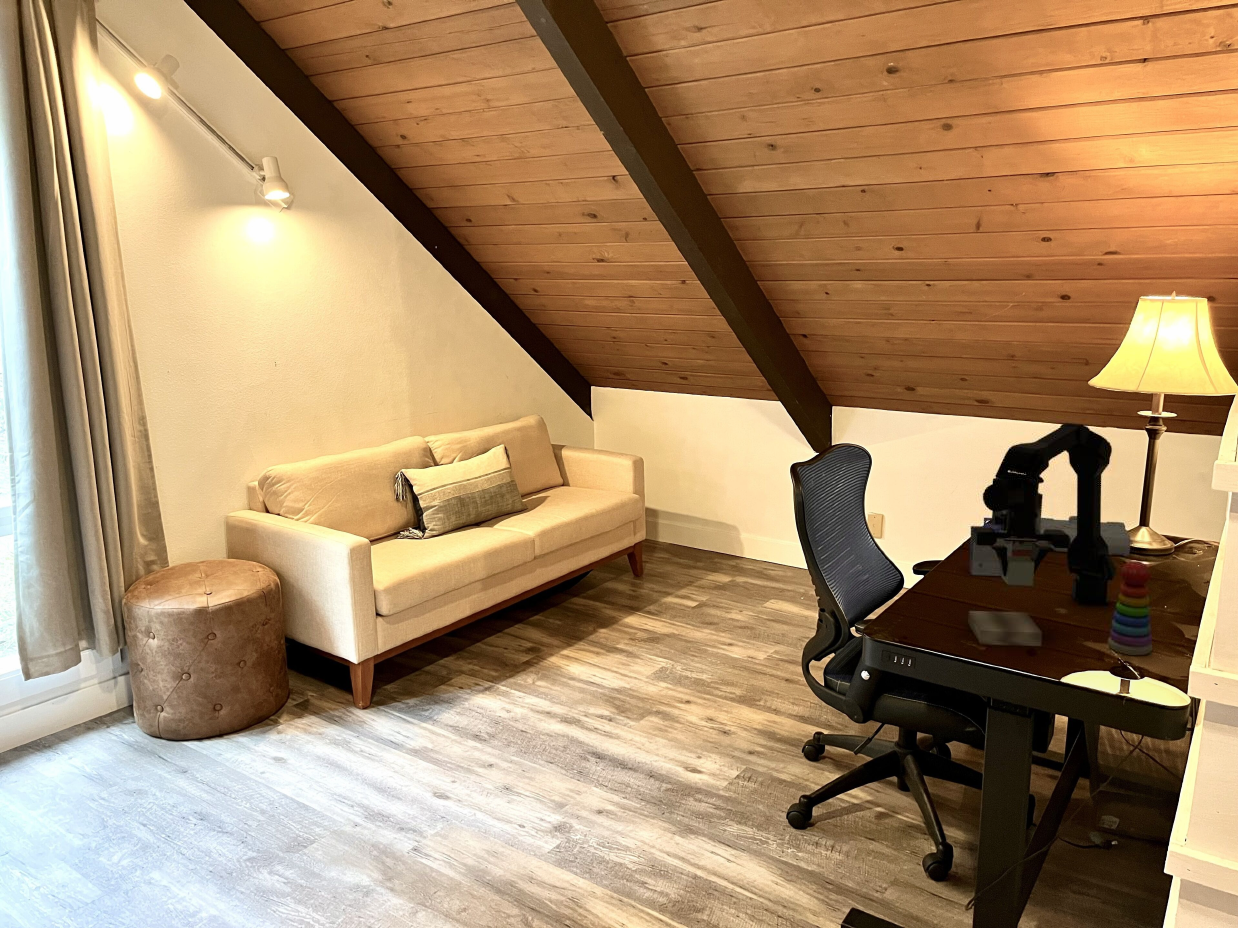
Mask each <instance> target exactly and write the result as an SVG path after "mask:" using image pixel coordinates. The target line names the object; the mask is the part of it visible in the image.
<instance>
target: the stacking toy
mask: <svg viewBox="0 0 1238 928" xmlns="http://www.w3.org/2000/svg"><path fill="white" fill-rule="evenodd" d="M1120 573H1121V574H1120V575H1121V578H1122V580H1123V581H1124V582H1123V583H1122V584H1121V585H1120V586H1119V589H1120V593H1119V594H1118V597H1117V598H1118V601H1117V602H1116V604H1115V609H1116V610H1115V611H1114V612H1113V619H1112V620H1111V627H1112V628H1111V629H1110V633H1109V634H1110V635H1109V637H1108V640H1107V645H1108V646H1109V648H1110V649H1112V650H1113V651H1115V652H1117V653H1119V654H1123V655H1129V656H1142V655H1143V656H1144V655H1148V654H1150V653H1151V652H1152V651H1153V645H1152V641H1153V636H1152V634H1151V633H1150V632H1151V630H1152V627H1151V625H1150V623H1151V617H1150V612H1151V608H1150V606H1149V604H1150V602H1151V601H1150V600H1151V599H1150V597H1149V596H1148V594H1149V588H1148V586H1147V585H1145V584H1146V583H1148V581H1149V580H1150V577H1151V572H1150V569H1149V567H1148V566H1147V564H1145V563H1144V562H1142V561H1139V560H1138V561H1137V560H1131V561H1128V562H1126V563H1125V564H1124V565H1123V566H1122V568H1121V571H1120Z"/></svg>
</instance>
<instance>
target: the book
mask: <svg viewBox="0 0 1238 928" xmlns="http://www.w3.org/2000/svg"><path fill="white" fill-rule="evenodd" d="M1045 529H1055V530H1062V531H1064V532H1065V533H1066V534H1068V535H1069V536H1070V539H1071V542H1072V541H1073V539H1074V538H1075V537H1076V535H1077V515H1070V516H1069V517H1068V519H1055V518H1052V517H1051V518H1048V517H1041V526H1040V534H1043V532H1044V530H1045ZM1101 536H1102V537H1103V539H1104V540H1105V542H1106V544H1107V545H1108V550H1109V556H1112V557H1113V556H1121V557H1122V556H1123V557H1126V558H1127V557H1129V555H1130V551H1131V545H1132V544H1133V545H1134V543H1133V541H1132V540H1131V535H1130V533H1129V532H1128V531H1127V529H1126V525H1125V523H1124V522H1122V521H1121V522H1120V521H1105V522H1104V521H1103V522H1102V521H1101ZM1051 547H1052V548H1053V552H1057V553H1068V550H1067V548H1055V547H1054V546H1053V545H1051Z"/></svg>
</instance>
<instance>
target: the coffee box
mask: <svg viewBox="0 0 1238 928" xmlns="http://www.w3.org/2000/svg"><path fill="white" fill-rule="evenodd" d="M1043 496H1044V495H1043V493H1041V492H1038V502H1037V513H1038V518H1036V530H1035V532H1037V533H1040V526H1041V518H1042V511H1043V510H1042V509H1043ZM1003 514H1006V510H1003ZM999 526H1001V525H999ZM1014 538H1015V537H1014ZM1016 538H1017V537H1016ZM1023 538H1030V537H1023ZM1012 551H1032V542H1014V541H1013V544H1012Z"/></svg>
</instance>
